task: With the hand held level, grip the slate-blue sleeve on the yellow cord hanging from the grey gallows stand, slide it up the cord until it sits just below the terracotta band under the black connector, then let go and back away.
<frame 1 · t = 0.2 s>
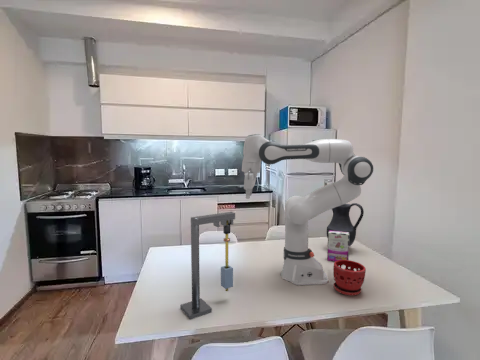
hand: (248, 197, 142), 39 cm above the table, tool pointing down, fingers open, 8 cm apart
candy bar box: (337, 261, 165), on the table
grey gallows stand: (226, 299, 122), on the table
plant pot: (348, 291, 130), on the table
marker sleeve: (226, 276, 121), point 10 cm above the table, slide at 0.0 cm
pitcher: (343, 250, 181), on the table
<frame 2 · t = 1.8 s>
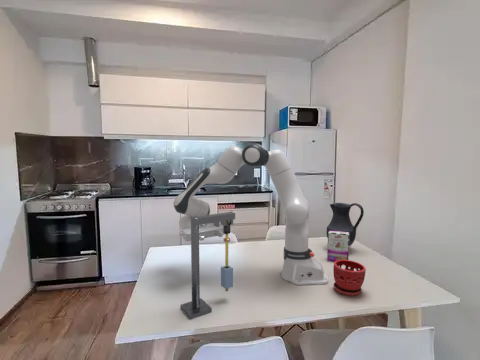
hand: (212, 237, 129), 24 cm above the table, tool horizontal, fingers open, 8 cm apart
nothing on the table moved.
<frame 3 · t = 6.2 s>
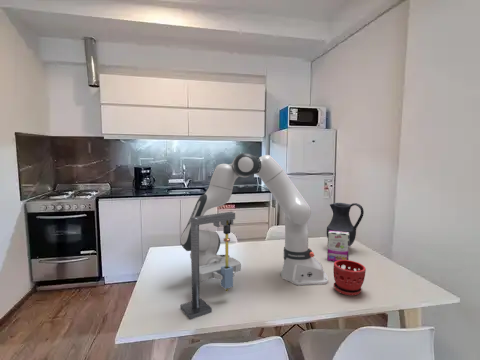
hand: (228, 276, 120), 11 cm above the table, tool horizontal, fingers closed on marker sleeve, 4 cm apart
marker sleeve: (226, 276, 121), point 10 cm above the table, slide at 0.0 cm, touching gripper
everything else where it was.
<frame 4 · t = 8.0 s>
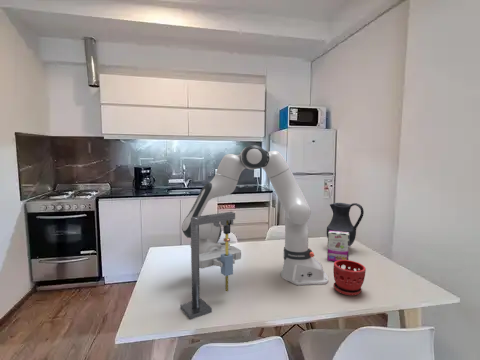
hand: (228, 263, 119), 16 cm above the table, tool horizontal, fingers closed on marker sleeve, 4 cm apart
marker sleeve: (226, 264, 120), point 15 cm above the table, slide at 5.3 cm, touching gripper
everything else where it was.
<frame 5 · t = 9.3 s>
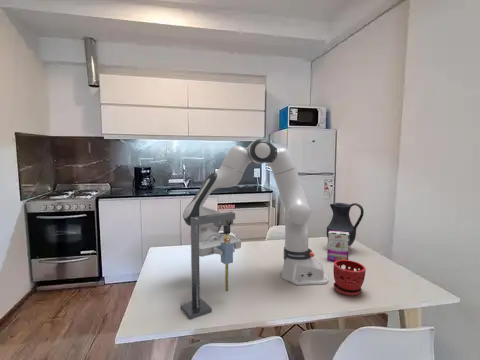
hand: (228, 251, 119), 21 cm above the table, tool horizontal, fingers closed on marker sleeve, 4 cm apart
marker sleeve: (226, 252, 120), point 20 cm above the table, slide at 10.3 cm, touching gripper
everything else where it was.
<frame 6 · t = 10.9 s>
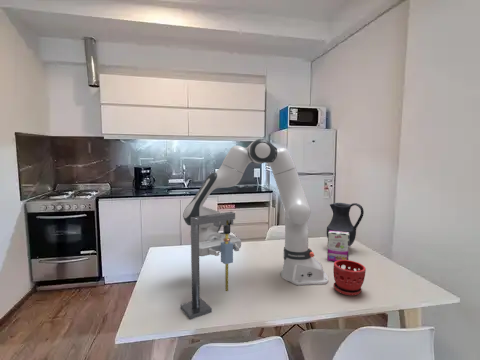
hand: (228, 251, 119), 21 cm above the table, tool horizontal, fingers open, 8 cm apart
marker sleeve: (226, 252, 120), point 20 cm above the table, slide at 10.3 cm
everything else where it was.
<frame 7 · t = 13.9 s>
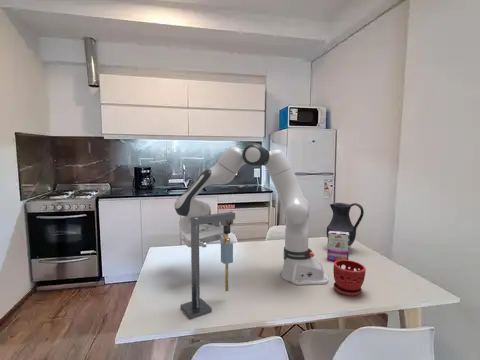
hand: (214, 243, 130), 21 cm above the table, tool horizontal, fingers open, 8 cm apart
nothing on the table moved.
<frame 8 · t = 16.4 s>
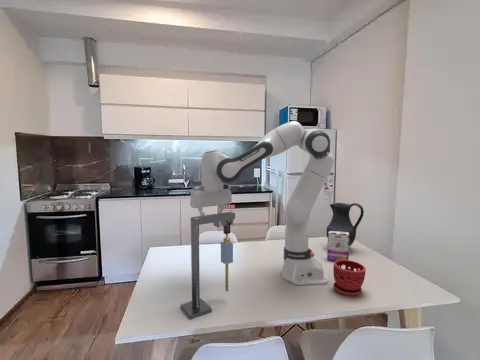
hand: (211, 215, 137), 31 cm above the table, tool pointing down, fingers open, 8 cm apart
nothing on the table moved.
at the end: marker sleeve slide at 10.3 cm; the gripper is holding nothing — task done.
